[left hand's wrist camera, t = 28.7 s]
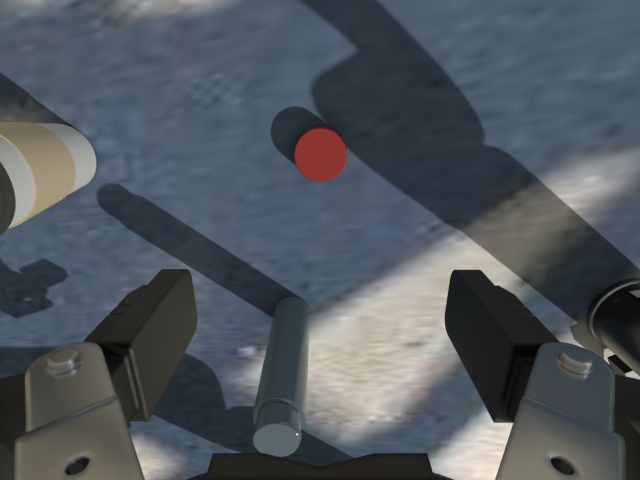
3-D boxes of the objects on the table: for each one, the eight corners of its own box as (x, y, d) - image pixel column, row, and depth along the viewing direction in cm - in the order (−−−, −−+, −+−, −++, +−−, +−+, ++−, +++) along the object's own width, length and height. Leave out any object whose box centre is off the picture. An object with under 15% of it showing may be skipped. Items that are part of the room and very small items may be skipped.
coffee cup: (-2, 142, 37) (-192, 172, 24) (61, 92, 36) (-105, 92, 22) (64, 214, 40) (-71, 278, 26) (125, 171, 39) (15, 216, 25)
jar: (305, 330, 46) (296, 465, 30) (271, 322, 46) (242, 455, 29) (314, 301, 45) (311, 426, 28) (279, 292, 44) (254, 415, 27)
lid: (319, 114, 37) (319, 115, 34) (356, 151, 38) (358, 154, 36) (284, 153, 38) (282, 156, 36) (321, 187, 39) (321, 192, 37)
